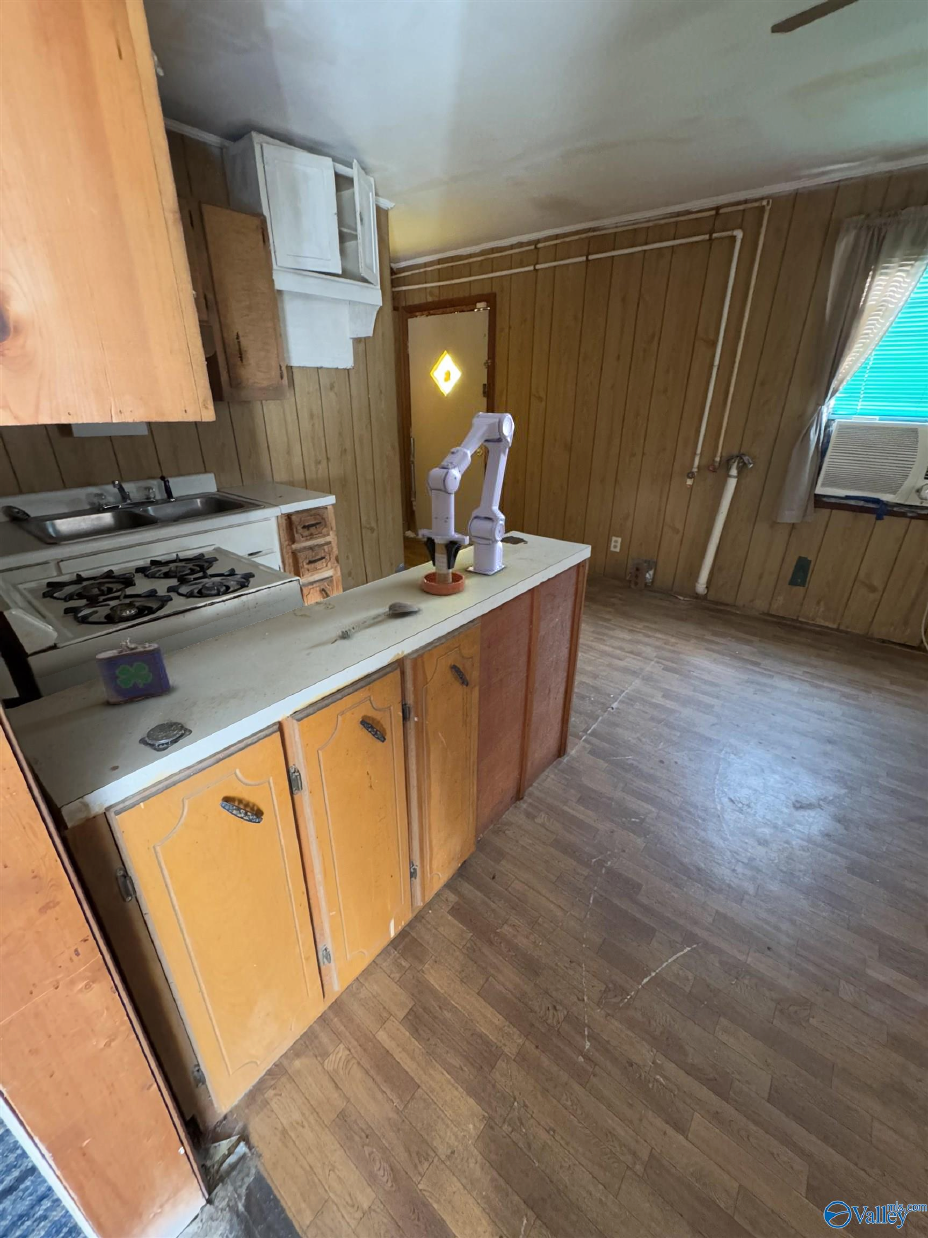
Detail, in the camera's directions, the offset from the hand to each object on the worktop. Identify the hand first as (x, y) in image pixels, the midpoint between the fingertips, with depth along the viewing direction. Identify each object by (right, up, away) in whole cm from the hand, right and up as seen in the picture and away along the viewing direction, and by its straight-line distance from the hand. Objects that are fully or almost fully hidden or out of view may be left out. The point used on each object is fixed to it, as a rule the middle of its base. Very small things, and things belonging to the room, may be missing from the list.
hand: (443, 566), depth 135 cm
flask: (-50, -28, -48) cm, 75 cm away
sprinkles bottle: (0, -4, +2) cm, 5 cm away
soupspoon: (-14, -15, -18) cm, 27 cm away
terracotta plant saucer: (0, -6, +2) cm, 6 cm away
